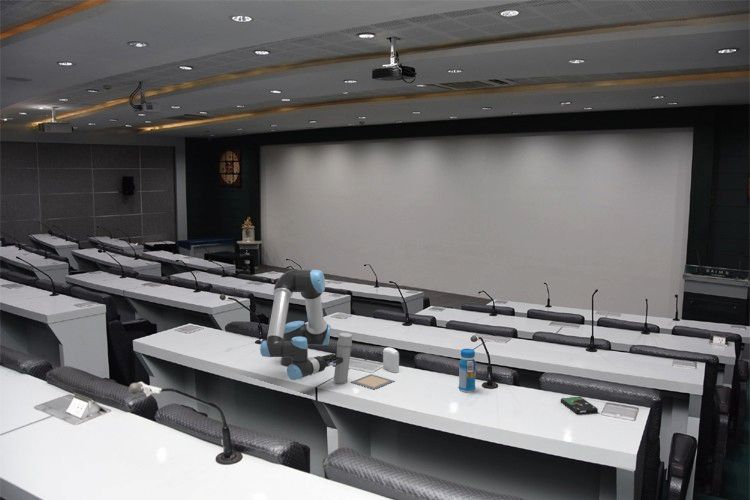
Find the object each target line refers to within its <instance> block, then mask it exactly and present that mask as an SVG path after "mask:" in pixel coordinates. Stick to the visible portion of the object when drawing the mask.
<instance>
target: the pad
mask: <svg viewBox="0 0 750 500" xmlns="http://www.w3.org/2000/svg"><path fill="white" fill-rule="evenodd" d="M392 382H393V383H395V380H392V379H389V378H387V377H386V378H385V377H383V376H379V375H376V374H372V373H370V374H368V375H365V376H363V377H360V378H358V379H354V380H352V381H350V383H351V384H353V383H354V384H353V385H356V384H357V386H360V385H361V386H360V387H363V386H364V387H363V388H366V387H367V388H366V389H369V388H370V389H369V390H372V389H373V391H375V389H376V390H378V389H381V388H383V387H385V386H387V384H388V385H390V384H392ZM380 387H381V388H380Z"/></svg>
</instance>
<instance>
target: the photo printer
mask: <svg viewBox="0 0 750 500" xmlns="http://www.w3.org/2000/svg"><path fill="white" fill-rule="evenodd" d="M382 351H383V352H382V369H384V370H385V371H386V370H387V371H389V372H392V373H398V372H399V371H400V352H399V351H398V350H396V349H395V348H392V347H385V348H384V349H383V350H382Z"/></svg>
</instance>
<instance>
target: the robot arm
mask: <svg viewBox="0 0 750 500" xmlns="http://www.w3.org/2000/svg"><path fill="white" fill-rule="evenodd" d="M325 289H326V279H325V275H324V272H323V271H322V270H321V269H320V270H319V269H289V270H287V271H285V272H284V273H282V275H280V276H279V278H278V279H277V281H276V282H275V285H274V287H273V291H272V292H273V295H274V298H273V304H272V308H271V316H270V321H269V325H268V326H269V327H268V332H267V336H266V337H267V338H266V340H262V341H261V343H260V347H259V350H260V355H261V356H262V357H264V358H281V359H280V364H281V365H283V366H287V367H286V374H287V376H288V379H290V380H292V381H296V380H301V379H303V378H306V377H309V376H312V375H314V374H316V373H320V372H323V371H324V370H325V369H326V368H327V367H330V366H332V367H333V368H335V366H336V365H338V364H340V363H342V362H343V358H339V357H336V354H337V352H335V353H329V354H326V355H317V356H314V357H310V358H308V357H309V354H308V349H309V346H327V345H329V343H330V336H331V327H332V326H331V324H329V323H327V320H325V319H324V313H323V305H322V304H323V303H322V298H321V297H322V294H323V293H324V292H325ZM293 293H300V295H301V297H302V298H304V305H305V308H306V309H305V311H306V316H307V323H305V321H303V320H295V321H290V322H287V317H288V311H289V306H290V305H289V303H290V298H291V297H292V296H293ZM286 322H287V323H286Z"/></svg>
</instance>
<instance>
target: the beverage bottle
mask: <svg viewBox="0 0 750 500" xmlns="http://www.w3.org/2000/svg"><path fill="white" fill-rule="evenodd" d="M475 354H476V351H475V349H473V348H462V349H461V350H460V357H461V359H460V360H459V363H458V364H459V366H458V372H459V374H458V389H459V391H460V392H464V393H472V392H473V393H474V392H475V390H476V372H477V367H476V366H477V363H476V360H475V356H476V355H475Z"/></svg>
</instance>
